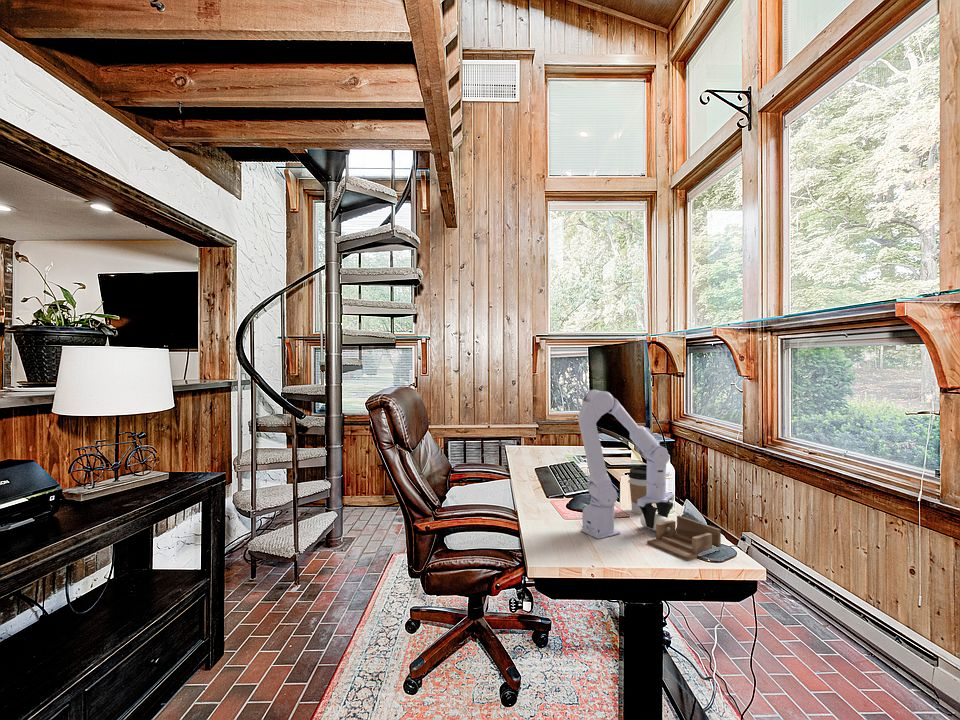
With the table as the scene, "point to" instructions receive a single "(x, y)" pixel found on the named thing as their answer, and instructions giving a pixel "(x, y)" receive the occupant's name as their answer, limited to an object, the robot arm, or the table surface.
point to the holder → (685, 537)
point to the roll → (656, 520)
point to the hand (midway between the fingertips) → (655, 525)
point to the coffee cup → (637, 486)
